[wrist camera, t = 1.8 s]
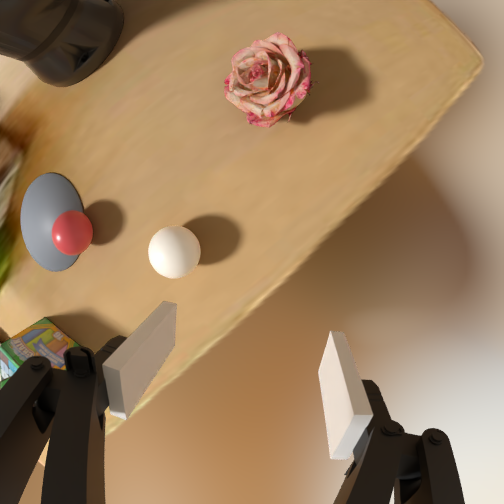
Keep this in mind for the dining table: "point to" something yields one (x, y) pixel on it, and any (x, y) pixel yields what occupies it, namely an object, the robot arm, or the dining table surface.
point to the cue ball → (174, 251)
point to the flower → (269, 80)
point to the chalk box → (34, 348)
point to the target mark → (47, 218)
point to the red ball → (72, 232)
